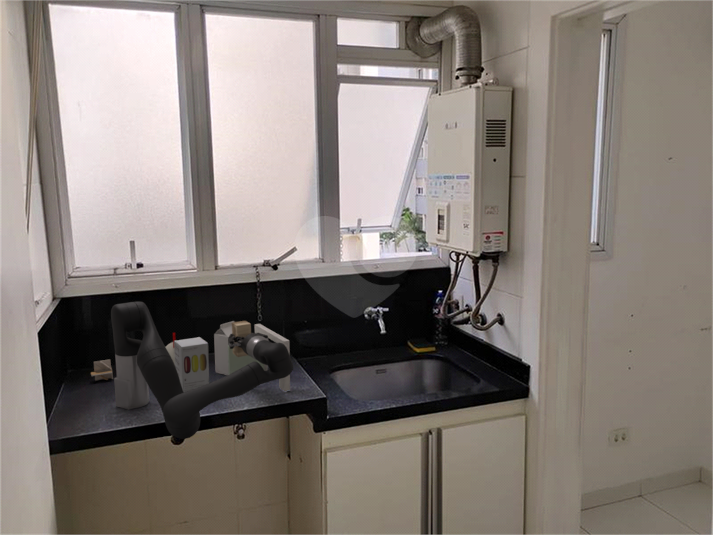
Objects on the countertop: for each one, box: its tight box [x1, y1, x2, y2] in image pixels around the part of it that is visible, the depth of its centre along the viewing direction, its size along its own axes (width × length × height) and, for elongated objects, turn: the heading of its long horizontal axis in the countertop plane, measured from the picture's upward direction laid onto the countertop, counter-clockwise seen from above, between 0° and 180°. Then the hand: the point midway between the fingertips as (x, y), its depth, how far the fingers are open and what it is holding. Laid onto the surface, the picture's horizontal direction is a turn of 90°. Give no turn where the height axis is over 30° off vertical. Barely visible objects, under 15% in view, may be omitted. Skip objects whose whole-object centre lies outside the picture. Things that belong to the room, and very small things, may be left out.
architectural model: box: [90, 359, 114, 381], centre depth 203 cm, size 3×7×7 cm, turn 120°
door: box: [228, 346, 269, 374], centre depth 205 cm, size 15×3×13 cm, turn 122°
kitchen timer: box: [165, 332, 177, 365], centre depth 211 cm, size 14×14×15 cm
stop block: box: [232, 320, 252, 357], centre depth 196 cm, size 5×5×11 cm
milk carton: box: [213, 320, 235, 376], centre depth 211 cm, size 7×7×19 cm
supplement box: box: [174, 336, 210, 392], centre depth 195 cm, size 10×9×17 cm
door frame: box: [254, 323, 291, 392], centre depth 202 cm, size 26×2×18 cm, turn 32°
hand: (239, 335), depth 198 cm, fingers closed on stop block, 5 cm apart
